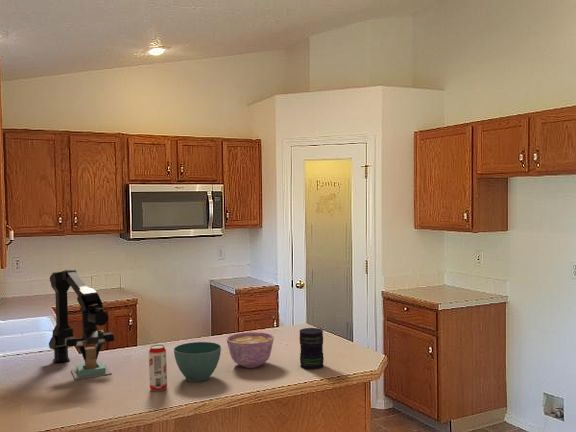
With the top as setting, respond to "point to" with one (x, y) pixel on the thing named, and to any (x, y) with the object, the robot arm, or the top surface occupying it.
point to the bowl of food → (250, 348)
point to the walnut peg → (90, 358)
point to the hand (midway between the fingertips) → (90, 360)
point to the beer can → (157, 368)
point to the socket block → (90, 371)
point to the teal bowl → (197, 359)
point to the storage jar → (311, 348)
